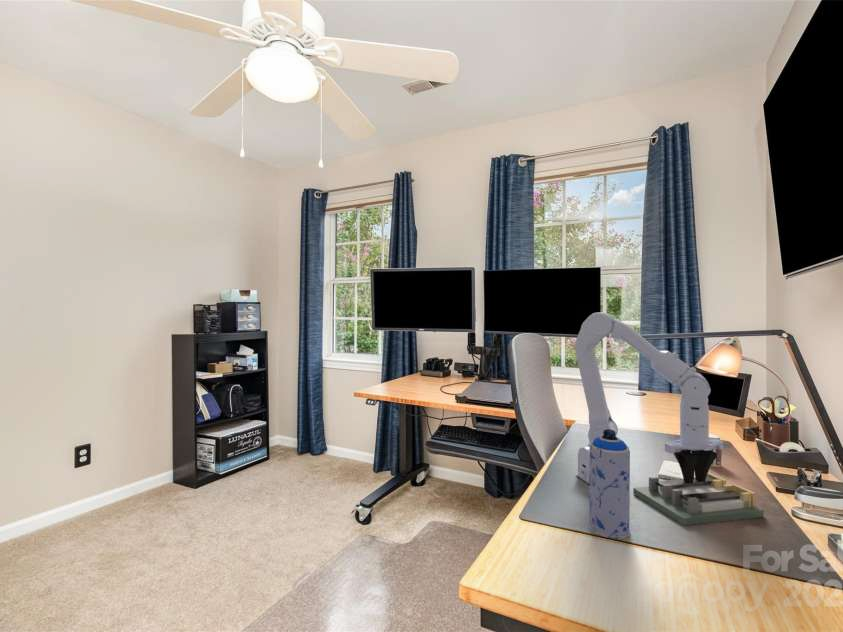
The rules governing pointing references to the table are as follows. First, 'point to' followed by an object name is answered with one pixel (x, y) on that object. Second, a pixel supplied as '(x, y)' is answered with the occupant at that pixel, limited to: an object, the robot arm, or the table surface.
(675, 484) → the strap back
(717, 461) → the pill bottle
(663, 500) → the board
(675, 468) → the external hard drive
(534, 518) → the table surface
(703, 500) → the strap front
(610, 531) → the aerosol can
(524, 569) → the table surface
